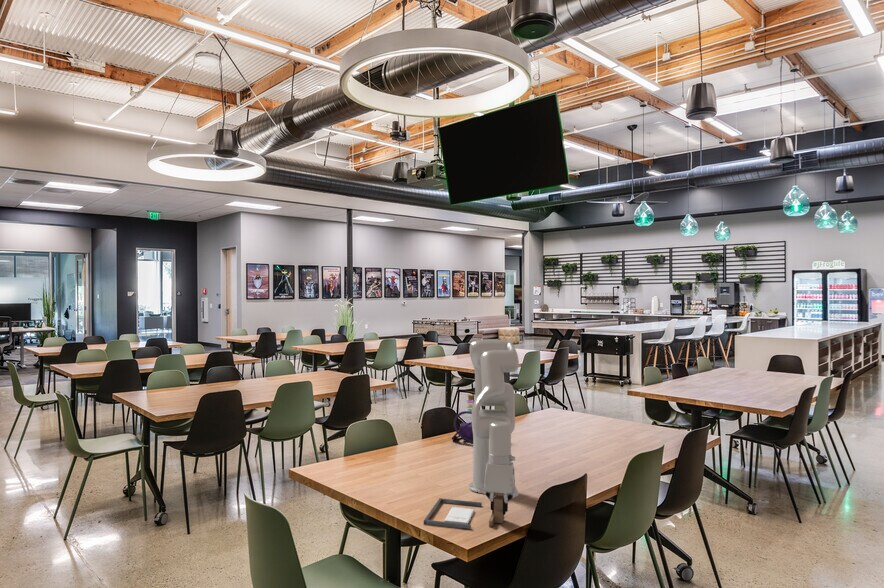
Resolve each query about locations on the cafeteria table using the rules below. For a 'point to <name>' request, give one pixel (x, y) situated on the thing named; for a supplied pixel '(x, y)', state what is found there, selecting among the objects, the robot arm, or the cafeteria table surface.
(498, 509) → the pusher
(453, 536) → the cafeteria table surface
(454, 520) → the external hard drive
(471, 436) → the decorative bottle
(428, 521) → the bay
